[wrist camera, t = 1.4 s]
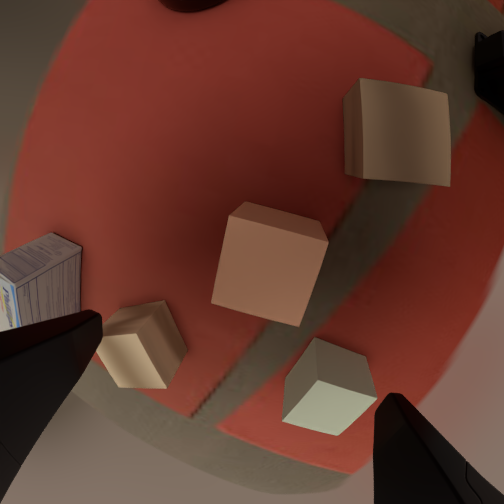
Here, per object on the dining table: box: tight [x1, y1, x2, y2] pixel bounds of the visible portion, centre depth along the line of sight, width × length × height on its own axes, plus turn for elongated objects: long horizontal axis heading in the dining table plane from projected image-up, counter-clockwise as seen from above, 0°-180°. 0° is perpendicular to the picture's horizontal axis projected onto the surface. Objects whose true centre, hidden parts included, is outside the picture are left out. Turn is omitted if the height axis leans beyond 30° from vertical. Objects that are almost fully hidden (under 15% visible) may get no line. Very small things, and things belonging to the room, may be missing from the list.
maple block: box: [96, 300, 188, 388], centre depth 20 cm, size 5×5×5 cm
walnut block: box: [343, 78, 451, 187], centre depth 13 cm, size 5×5×5 cm
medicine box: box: [0, 233, 82, 332], centre depth 19 cm, size 8×4×9 cm, turn 161°
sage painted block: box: [282, 337, 377, 436], centre depth 19 cm, size 5×5×5 cm
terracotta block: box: [211, 201, 329, 327], centre depth 17 cm, size 5×5×5 cm
